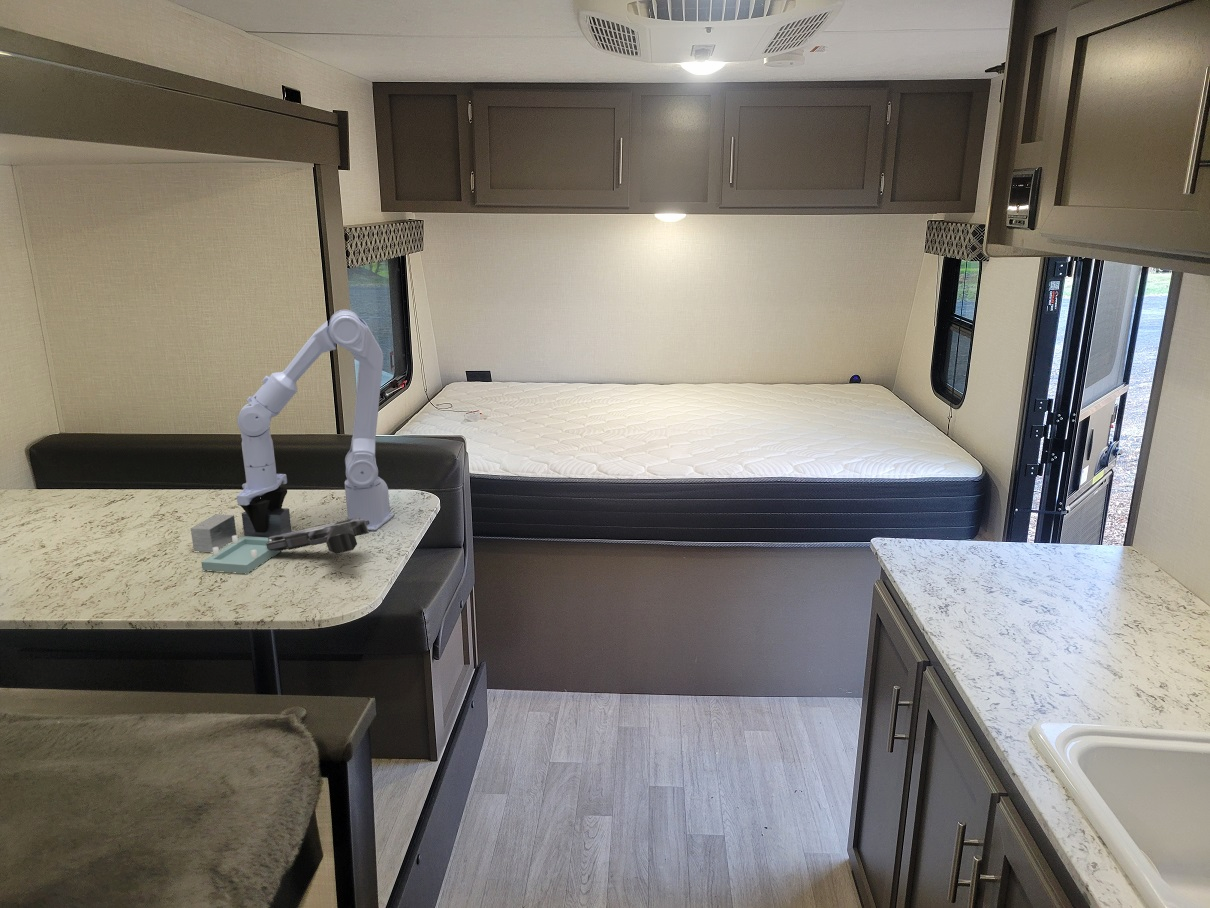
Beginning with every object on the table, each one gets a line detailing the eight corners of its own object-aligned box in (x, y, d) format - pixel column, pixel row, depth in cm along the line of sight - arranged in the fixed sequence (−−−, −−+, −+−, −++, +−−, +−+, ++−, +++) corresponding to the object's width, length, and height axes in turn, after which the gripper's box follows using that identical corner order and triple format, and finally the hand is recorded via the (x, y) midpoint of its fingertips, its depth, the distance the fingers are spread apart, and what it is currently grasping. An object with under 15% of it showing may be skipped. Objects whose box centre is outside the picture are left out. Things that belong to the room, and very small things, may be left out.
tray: (244, 544, 165) (242, 529, 164) (286, 547, 164) (284, 532, 163) (202, 571, 153) (200, 554, 152) (247, 574, 151) (245, 557, 151)
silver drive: (218, 537, 169) (215, 514, 168) (237, 538, 169) (233, 515, 168) (194, 552, 162) (190, 528, 161) (213, 553, 161) (209, 529, 160)
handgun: (351, 532, 147) (372, 511, 159) (242, 556, 149) (270, 534, 161) (357, 549, 148) (377, 527, 160) (247, 573, 150) (276, 550, 162)
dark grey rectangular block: (244, 537, 169) (241, 513, 168) (254, 529, 173) (252, 507, 172) (282, 538, 168) (279, 515, 167) (291, 531, 172) (289, 508, 171)
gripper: (261, 452, 174) (269, 514, 178) (219, 472, 160) (228, 539, 164) (293, 454, 173) (300, 516, 177) (252, 474, 159) (261, 541, 163)
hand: (267, 527), depth 170 cm, fingers closed on dark grey rectangular block, 4 cm apart
